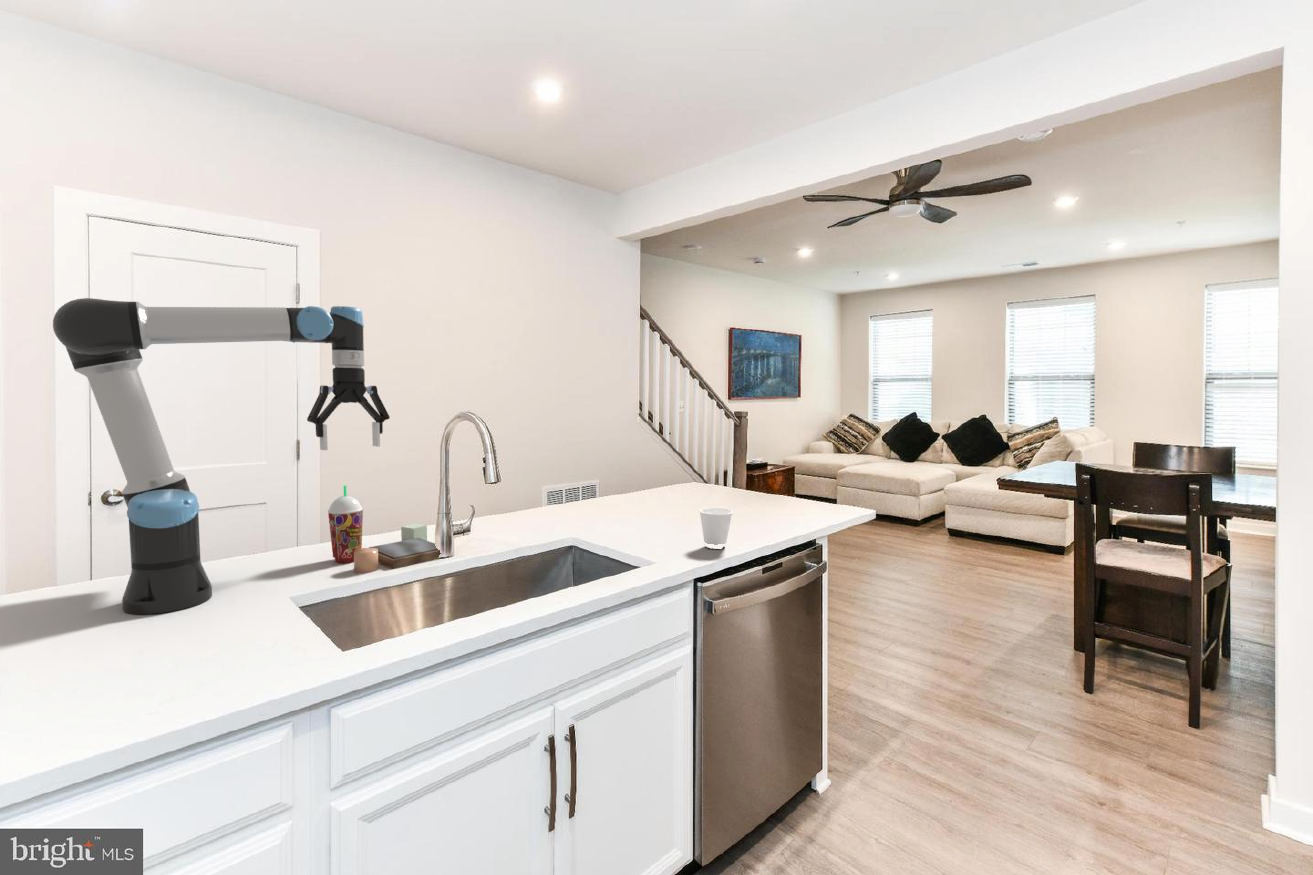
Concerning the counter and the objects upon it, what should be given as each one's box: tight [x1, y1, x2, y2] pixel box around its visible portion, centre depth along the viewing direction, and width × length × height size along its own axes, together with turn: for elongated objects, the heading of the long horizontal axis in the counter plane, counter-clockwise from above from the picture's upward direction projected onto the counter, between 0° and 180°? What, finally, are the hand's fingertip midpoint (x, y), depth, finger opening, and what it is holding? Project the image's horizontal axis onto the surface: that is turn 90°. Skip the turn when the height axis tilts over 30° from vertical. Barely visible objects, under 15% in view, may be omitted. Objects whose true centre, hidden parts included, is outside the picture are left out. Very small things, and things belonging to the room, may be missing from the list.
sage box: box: [400, 523, 428, 541], centre depth 187 cm, size 5×5×5 cm
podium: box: [368, 538, 441, 570], centre depth 172 cm, size 16×16×3 cm
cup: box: [698, 507, 734, 545], centre depth 186 cm, size 10×10×11 cm
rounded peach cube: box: [353, 547, 379, 574], centre depth 159 cm, size 6×6×5 cm
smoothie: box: [327, 485, 364, 564], centre depth 167 cm, size 8×8×20 cm
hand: (350, 448), depth 166 cm, fingers open, 13 cm apart
